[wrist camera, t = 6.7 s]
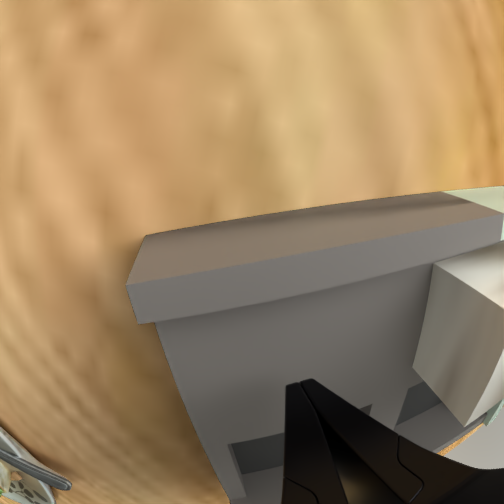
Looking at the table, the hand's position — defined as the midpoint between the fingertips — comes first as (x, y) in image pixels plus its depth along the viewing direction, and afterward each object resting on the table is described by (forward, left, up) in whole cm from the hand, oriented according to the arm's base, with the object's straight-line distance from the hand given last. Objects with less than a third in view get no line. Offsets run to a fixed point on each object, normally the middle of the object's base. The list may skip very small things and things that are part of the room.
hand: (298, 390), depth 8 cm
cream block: (-9, 0, -1) cm, 9 cm away
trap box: (-6, +4, -3) cm, 8 cm away
